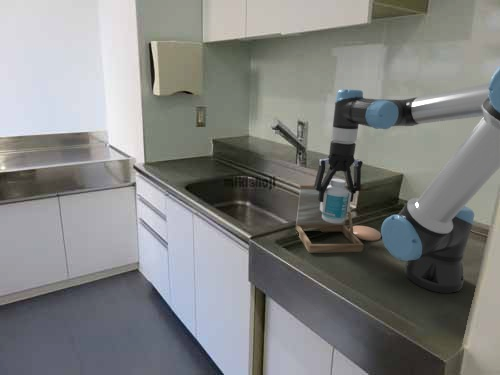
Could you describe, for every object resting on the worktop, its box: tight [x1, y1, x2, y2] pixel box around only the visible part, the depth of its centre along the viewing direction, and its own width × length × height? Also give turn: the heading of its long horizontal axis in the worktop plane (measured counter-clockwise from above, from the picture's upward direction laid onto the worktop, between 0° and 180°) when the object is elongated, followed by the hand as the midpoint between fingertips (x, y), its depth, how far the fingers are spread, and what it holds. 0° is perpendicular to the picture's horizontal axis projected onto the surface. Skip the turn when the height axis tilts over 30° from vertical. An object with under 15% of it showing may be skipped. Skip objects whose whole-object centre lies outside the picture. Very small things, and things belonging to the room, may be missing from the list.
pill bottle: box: [322, 178, 349, 224], centre depth 118 cm, size 8×7×14 cm
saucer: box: [348, 225, 382, 242], centre depth 131 cm, size 11×11×1 cm
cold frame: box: [295, 184, 365, 254], centre depth 121 cm, size 16×19×17 cm
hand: (334, 210), depth 119 cm, fingers closed on pill bottle, 7 cm apart
